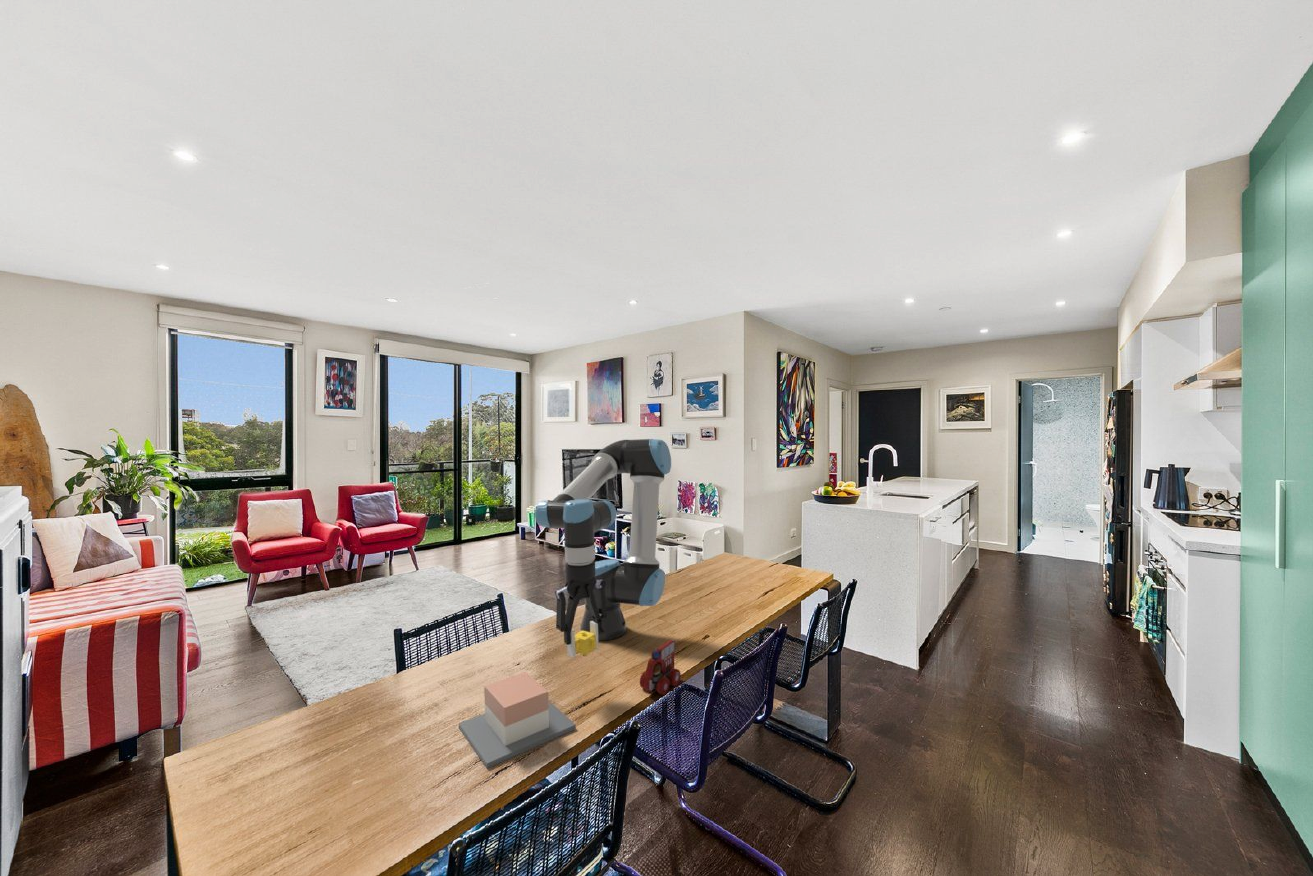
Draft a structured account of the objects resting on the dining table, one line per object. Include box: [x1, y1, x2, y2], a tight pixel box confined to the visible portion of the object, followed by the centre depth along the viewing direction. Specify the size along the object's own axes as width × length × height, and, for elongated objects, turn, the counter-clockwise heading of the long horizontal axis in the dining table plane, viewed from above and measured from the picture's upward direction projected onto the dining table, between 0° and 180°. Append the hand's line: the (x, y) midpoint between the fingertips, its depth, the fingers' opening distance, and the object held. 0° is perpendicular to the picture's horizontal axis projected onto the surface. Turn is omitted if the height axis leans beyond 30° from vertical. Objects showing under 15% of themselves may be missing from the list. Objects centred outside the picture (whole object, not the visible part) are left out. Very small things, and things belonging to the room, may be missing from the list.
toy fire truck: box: [639, 639, 682, 696], centre depth 128 cm, size 7×12×10 cm, turn 144°
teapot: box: [575, 631, 596, 657], centre depth 126 cm, size 8×6×5 cm
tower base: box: [458, 671, 577, 769], centre depth 112 cm, size 20×18×9 cm
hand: (583, 651), depth 126 cm, fingers closed on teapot, 6 cm apart
